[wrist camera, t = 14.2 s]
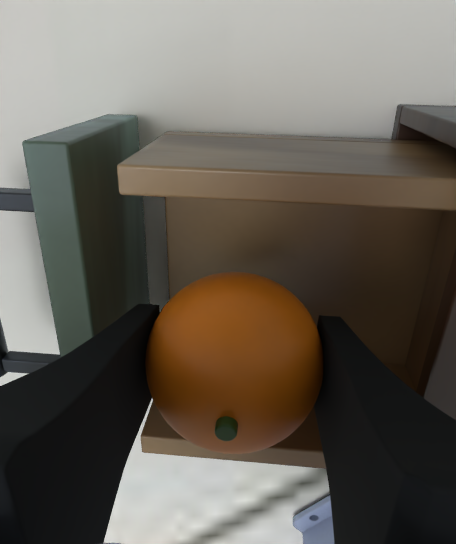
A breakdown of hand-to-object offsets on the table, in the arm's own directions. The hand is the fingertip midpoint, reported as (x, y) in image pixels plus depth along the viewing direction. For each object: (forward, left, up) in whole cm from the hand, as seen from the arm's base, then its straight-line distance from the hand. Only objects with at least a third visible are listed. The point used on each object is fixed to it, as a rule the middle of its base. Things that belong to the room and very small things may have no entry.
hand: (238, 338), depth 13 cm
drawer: (-1, +1, -6) cm, 6 cm away
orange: (0, 0, -1) cm, 1 cm away
